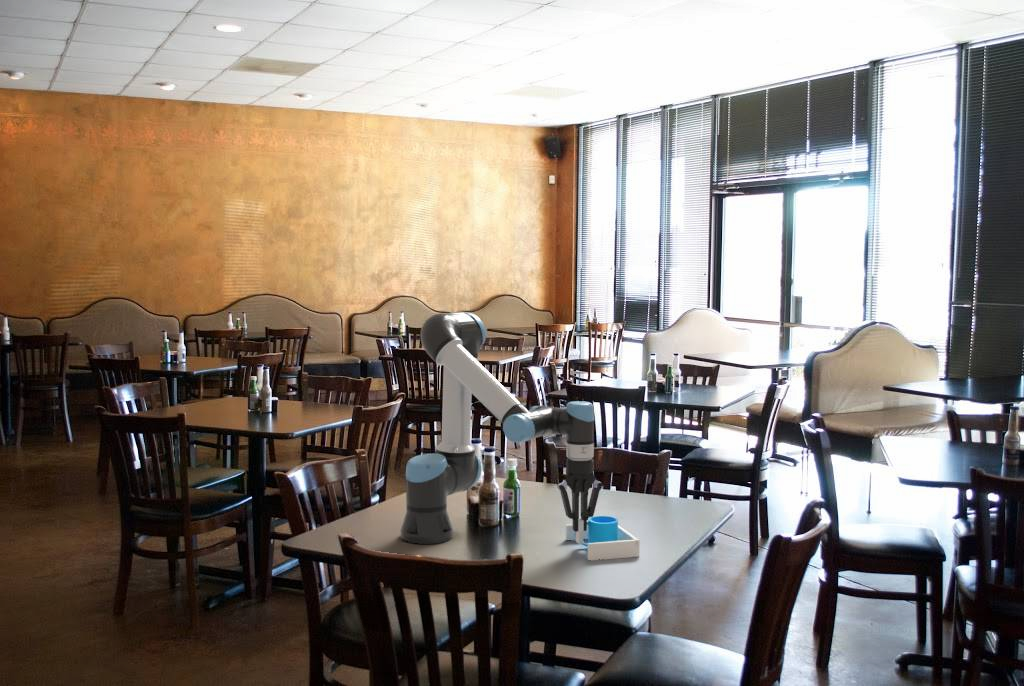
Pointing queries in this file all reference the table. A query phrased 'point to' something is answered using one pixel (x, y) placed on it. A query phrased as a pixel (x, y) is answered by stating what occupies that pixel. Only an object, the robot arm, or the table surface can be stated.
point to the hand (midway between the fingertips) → (579, 542)
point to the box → (609, 545)
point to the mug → (602, 529)
